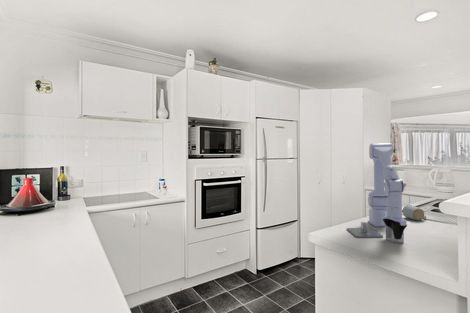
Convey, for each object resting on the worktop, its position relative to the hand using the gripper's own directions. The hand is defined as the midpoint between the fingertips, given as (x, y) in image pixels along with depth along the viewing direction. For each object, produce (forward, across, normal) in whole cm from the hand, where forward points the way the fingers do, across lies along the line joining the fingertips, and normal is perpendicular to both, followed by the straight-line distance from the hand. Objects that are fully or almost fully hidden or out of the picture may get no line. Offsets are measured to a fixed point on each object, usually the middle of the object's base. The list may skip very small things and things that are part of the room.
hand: (394, 236), depth 114 cm
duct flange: (+2, -10, -9) cm, 14 cm away
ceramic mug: (+2, -34, +30) cm, 45 cm away
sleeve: (+2, 0, 0) cm, 2 cm away
